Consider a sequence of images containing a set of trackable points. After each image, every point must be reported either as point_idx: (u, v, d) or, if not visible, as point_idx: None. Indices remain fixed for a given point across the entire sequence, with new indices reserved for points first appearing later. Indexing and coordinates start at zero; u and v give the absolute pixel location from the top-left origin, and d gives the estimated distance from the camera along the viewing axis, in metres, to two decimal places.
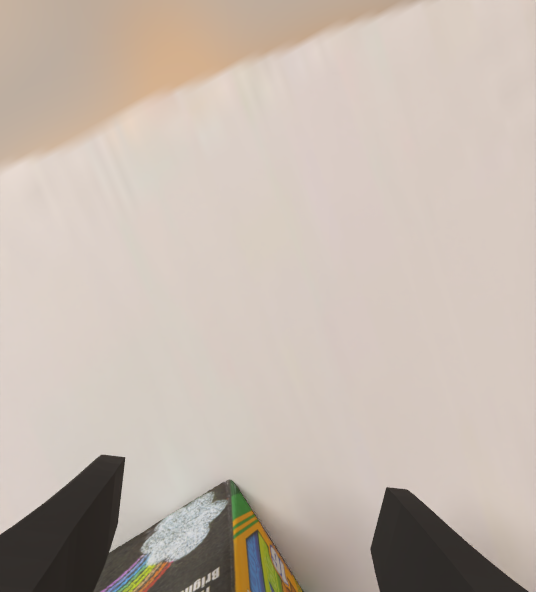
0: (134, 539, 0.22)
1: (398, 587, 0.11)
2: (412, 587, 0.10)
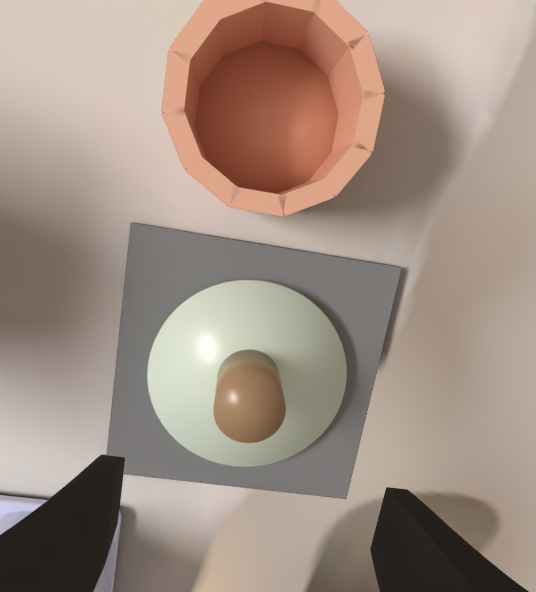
0: None
1: (398, 587, 0.11)
2: (412, 587, 0.10)
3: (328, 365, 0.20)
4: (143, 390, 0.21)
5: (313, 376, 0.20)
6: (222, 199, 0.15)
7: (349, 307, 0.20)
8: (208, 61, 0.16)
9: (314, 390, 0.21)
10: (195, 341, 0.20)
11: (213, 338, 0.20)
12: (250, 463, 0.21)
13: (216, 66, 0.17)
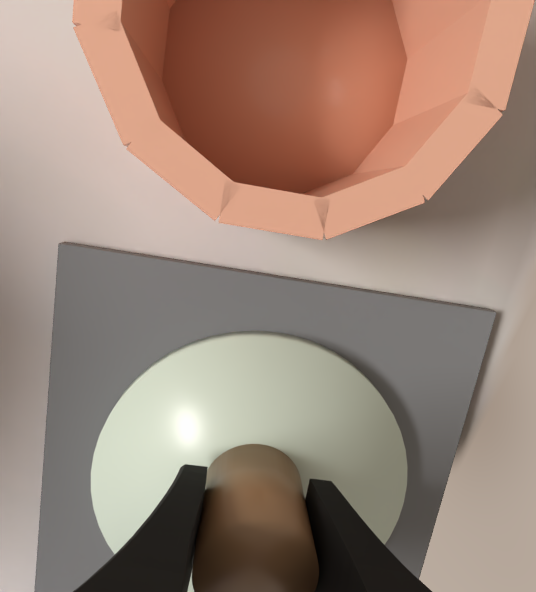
0: None
1: None
2: (321, 579, 0.10)
3: (379, 465, 0.13)
4: (88, 503, 0.13)
5: (355, 482, 0.13)
6: (203, 206, 0.08)
7: (412, 374, 0.13)
8: None
9: (356, 502, 0.13)
10: (166, 433, 0.12)
11: (195, 428, 0.12)
12: None
13: None
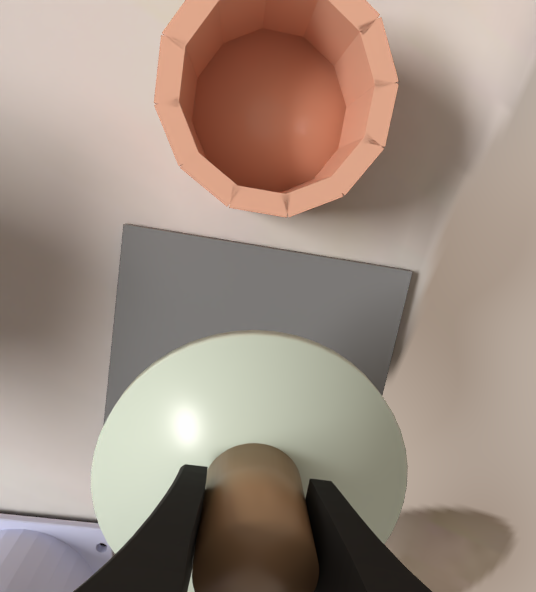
0: None
1: None
2: (321, 579, 0.10)
3: (378, 464, 0.13)
4: None
5: (355, 481, 0.13)
6: (221, 199, 0.14)
7: (356, 313, 0.19)
8: (206, 49, 0.15)
9: (356, 502, 0.13)
10: (167, 433, 0.12)
11: (195, 427, 0.12)
12: None
13: (214, 55, 0.16)
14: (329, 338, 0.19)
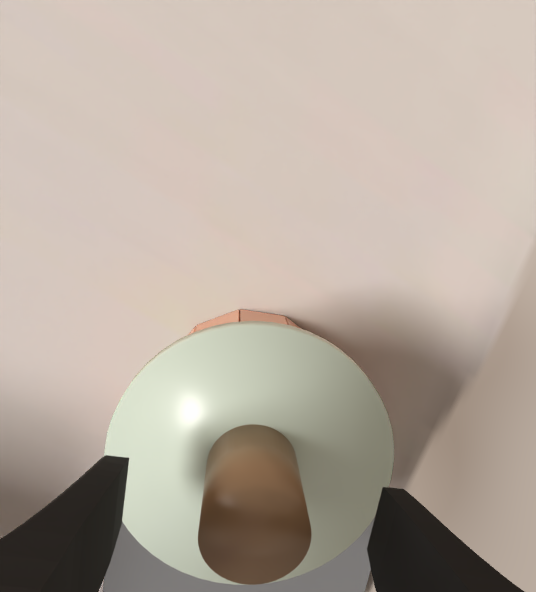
0: None
1: (394, 587, 0.11)
2: (408, 587, 0.10)
3: (367, 443, 0.14)
4: None
5: (346, 459, 0.14)
6: None
7: None
8: None
9: (347, 478, 0.14)
10: (173, 415, 0.13)
11: (199, 410, 0.13)
12: None
13: None
14: (307, 574, 0.21)
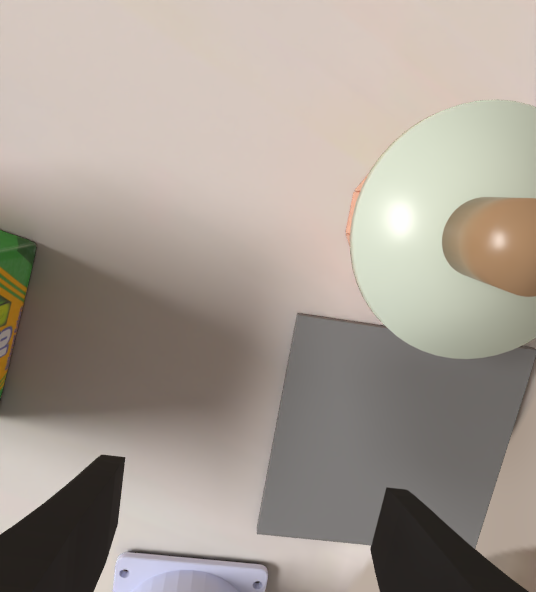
0: None
1: (398, 587, 0.11)
2: (412, 587, 0.10)
3: None
4: (297, 461, 0.23)
5: None
6: None
7: (488, 385, 0.22)
8: None
9: None
10: (419, 186, 0.15)
11: (442, 181, 0.15)
12: (472, 354, 0.17)
13: None
14: (463, 406, 0.22)
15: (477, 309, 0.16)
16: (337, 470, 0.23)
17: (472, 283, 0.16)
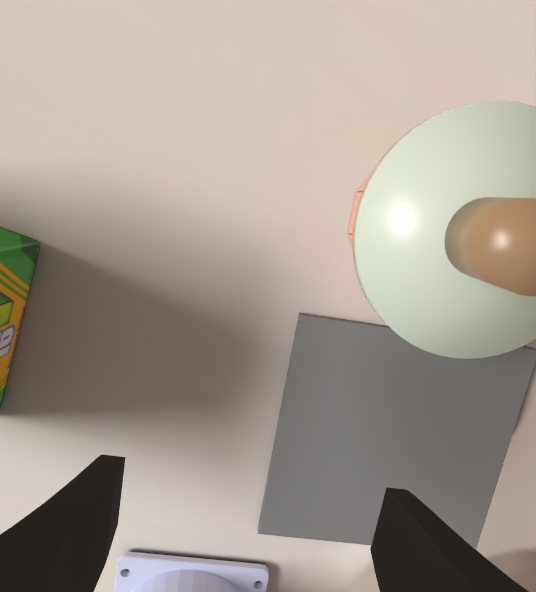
0: None
1: (398, 587, 0.11)
2: (412, 587, 0.10)
3: None
4: (299, 461, 0.23)
5: None
6: None
7: (489, 386, 0.22)
8: None
9: None
10: (422, 186, 0.15)
11: (445, 181, 0.15)
12: (474, 354, 0.17)
13: None
14: (465, 406, 0.22)
15: (479, 309, 0.16)
16: (338, 470, 0.23)
17: (475, 283, 0.16)
